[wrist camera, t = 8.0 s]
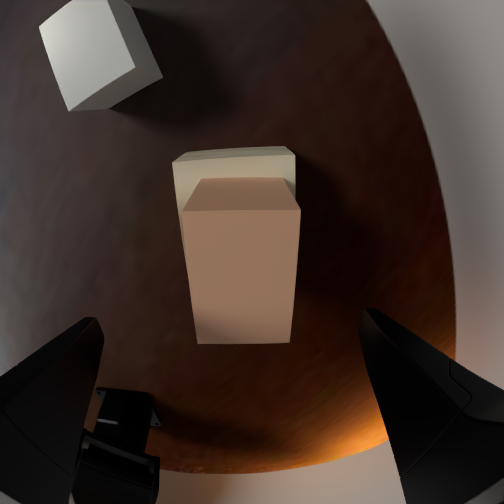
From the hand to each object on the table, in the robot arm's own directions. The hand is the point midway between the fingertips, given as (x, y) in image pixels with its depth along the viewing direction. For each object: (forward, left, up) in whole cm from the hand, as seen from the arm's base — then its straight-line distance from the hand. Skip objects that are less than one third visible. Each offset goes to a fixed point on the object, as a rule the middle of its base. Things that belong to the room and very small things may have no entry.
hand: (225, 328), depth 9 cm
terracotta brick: (0, -1, -7) cm, 7 cm away
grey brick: (+11, +7, -11) cm, 17 cm away
